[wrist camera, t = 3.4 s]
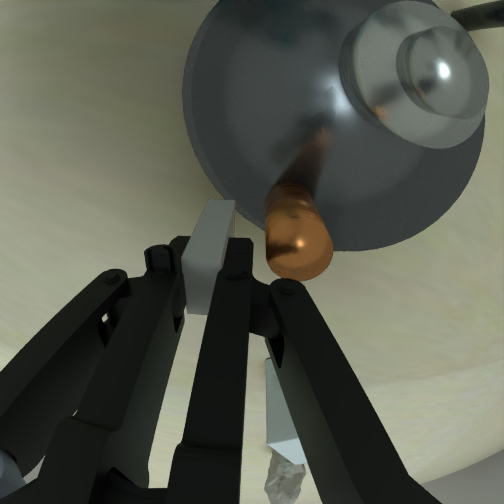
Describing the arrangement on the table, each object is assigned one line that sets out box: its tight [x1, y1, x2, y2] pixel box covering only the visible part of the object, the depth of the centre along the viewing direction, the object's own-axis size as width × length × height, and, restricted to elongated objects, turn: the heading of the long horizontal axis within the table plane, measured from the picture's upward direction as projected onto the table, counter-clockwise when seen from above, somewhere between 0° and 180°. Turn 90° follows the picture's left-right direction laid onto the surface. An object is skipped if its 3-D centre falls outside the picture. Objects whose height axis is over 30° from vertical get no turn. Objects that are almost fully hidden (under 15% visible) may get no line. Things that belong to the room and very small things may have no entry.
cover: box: [339, 1, 489, 149], centre depth 11 cm, size 8×8×6 cm
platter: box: [191, 0, 485, 281], centre depth 13 cm, size 20×20×8 cm
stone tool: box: [264, 449, 306, 504], centre depth 35 cm, size 11×4×15 cm, turn 156°
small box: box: [266, 358, 307, 465], centre depth 27 cm, size 8×6×10 cm
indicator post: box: [451, 0, 504, 32], centre depth 8 cm, size 2×4×12 cm, turn 88°
